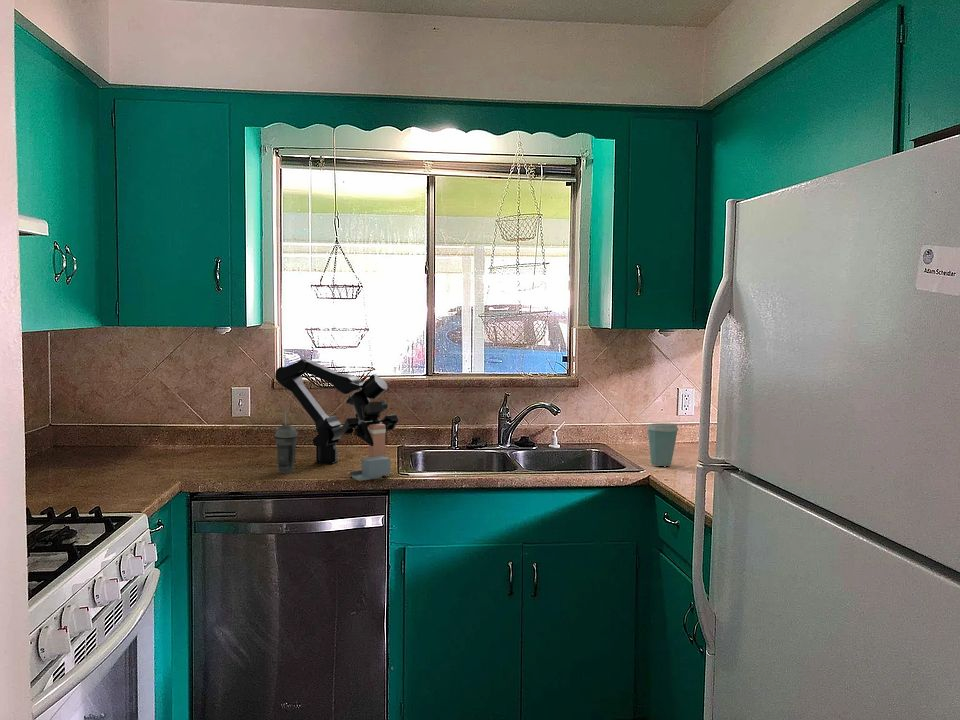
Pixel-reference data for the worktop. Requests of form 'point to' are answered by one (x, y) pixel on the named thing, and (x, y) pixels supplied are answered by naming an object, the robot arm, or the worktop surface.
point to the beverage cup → (286, 447)
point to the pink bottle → (377, 440)
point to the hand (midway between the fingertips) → (379, 444)
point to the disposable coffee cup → (662, 442)
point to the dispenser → (372, 468)
